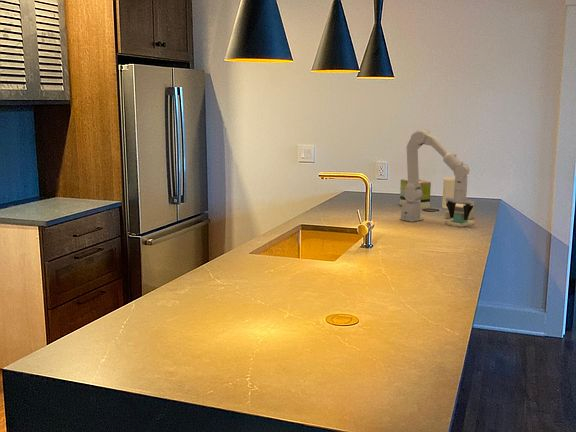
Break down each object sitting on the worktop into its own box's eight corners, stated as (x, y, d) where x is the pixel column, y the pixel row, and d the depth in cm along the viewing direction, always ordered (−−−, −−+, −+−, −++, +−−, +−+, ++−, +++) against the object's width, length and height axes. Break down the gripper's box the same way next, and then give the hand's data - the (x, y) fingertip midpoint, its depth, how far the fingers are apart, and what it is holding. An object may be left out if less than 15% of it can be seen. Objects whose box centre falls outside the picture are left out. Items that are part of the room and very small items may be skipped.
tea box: (398, 205, 363) (400, 178, 361) (413, 204, 368) (415, 178, 365) (415, 209, 350) (416, 182, 347) (430, 208, 354) (431, 181, 351)
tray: (461, 227, 305) (461, 224, 305) (446, 224, 311) (446, 221, 311) (474, 224, 312) (474, 221, 312) (458, 221, 318) (458, 218, 318)
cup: (459, 209, 353) (460, 179, 350) (443, 208, 353) (445, 179, 350) (455, 206, 361) (457, 177, 358) (440, 206, 361) (442, 177, 358)
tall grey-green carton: (460, 224, 308) (461, 214, 307) (453, 223, 311) (453, 213, 310) (467, 223, 312) (468, 212, 311) (460, 221, 315) (460, 211, 314)
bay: (459, 220, 320) (460, 208, 319) (442, 217, 327) (442, 206, 326) (473, 217, 328) (474, 206, 327) (456, 215, 335) (457, 203, 334)
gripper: (478, 191, 305) (476, 219, 308) (452, 187, 316) (450, 215, 318) (470, 192, 300) (468, 221, 303) (443, 189, 311) (442, 217, 313)
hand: (458, 218), depth 310 cm, fingers open, 7 cm apart
